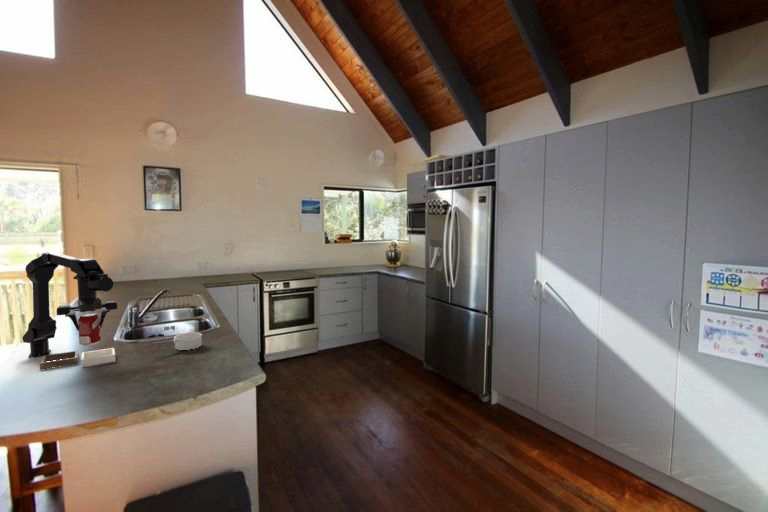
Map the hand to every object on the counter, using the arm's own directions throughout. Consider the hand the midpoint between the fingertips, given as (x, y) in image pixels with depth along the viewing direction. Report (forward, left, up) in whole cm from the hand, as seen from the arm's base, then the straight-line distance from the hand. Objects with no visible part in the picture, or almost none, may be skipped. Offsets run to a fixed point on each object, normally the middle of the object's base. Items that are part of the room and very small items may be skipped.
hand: (89, 328), depth 147 cm
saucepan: (+5, +30, -14) cm, 34 cm away
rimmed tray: (+1, +2, -13) cm, 14 cm away
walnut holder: (-5, -10, -13) cm, 17 cm away
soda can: (0, 0, -6) cm, 6 cm away
